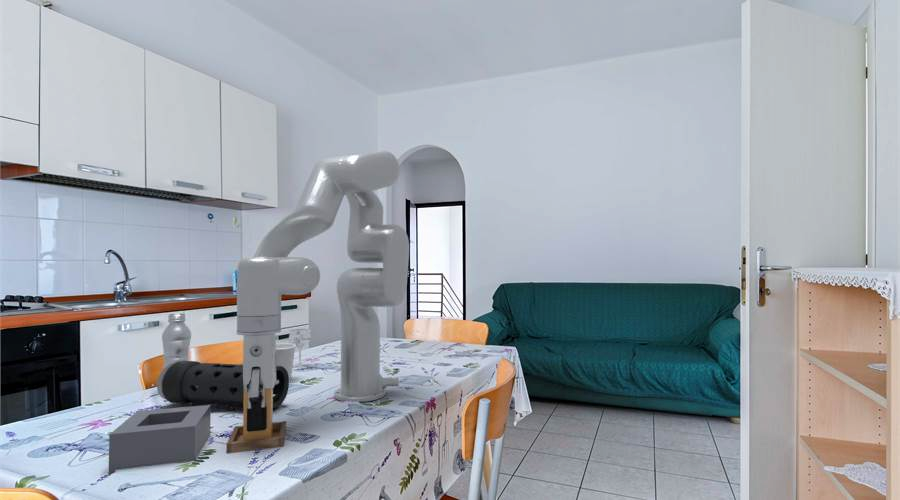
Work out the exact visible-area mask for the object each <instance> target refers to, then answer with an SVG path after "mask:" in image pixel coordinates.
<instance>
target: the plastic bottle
mask: <svg viewBox="0 0 900 500" xmlns="http://www.w3.org/2000/svg"><path fill="white" fill-rule="evenodd" d="M167 318H168V320H167V322H168V325H167V326H166V327H165V329H164V330H163V332H162V334H161V341H162V348H163V366H162V370H163V369H164V368H165V367H166V366H168V365H169V364H172V363H176V362H179V361H189V354H190V352H189V351H190V347H191V339H192V332H191V330H190V328H189V326H188V325H187V324H186V323H185V322H186V320H187V319H186V314H185V313H171V314H168V317H167Z"/></svg>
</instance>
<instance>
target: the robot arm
mask: <svg viewBox="0 0 900 500" xmlns="http://www.w3.org/2000/svg"><path fill="white" fill-rule="evenodd" d="M400 171H401V170H400V163H399V160H398V159H397V157H396V156H395V155H394V154H393V153H392V152H390V151H387V150H384V151H381V150H380V151H373V152H366V153H357V154H355V153H354V154H348V155H341V156H340V155H339V156H330V157H326V158H322V159H320V160H319V161H317V162H316V163H315V164H314V166H313V168H312V170H311V172H310V175H309V177H308V179H307V181H306V183H305V186H304V188H303V190H302V192H301V195H300V197H299V199H298V201H297V204H296V205H295V208H294V209H293V210H292V211H291V212H290V213H288V214H287V215H286V216H285V217H284V218H282V220H280V221H279V222H278V223H277V224H276V225H275V226H273V228H272V229H270V230H269V231H268V232H267V234H266V235H265V236H264V237H263V239H262V240H261V242H260V243H259V245H258V247H257V249H256V251H255V253H254V255H253V257H244V258H242V259H240V260H239V262H238V264H237V273H236V274H237V278H236V279H237V282H236V284H237V285H236V335H238V336H243V339H242V341H243V346H242V349H243V350H242V364H243V387H244V390H245V391H246V392H248V408H247V431H248V432H251V431H261V430H265V429H266V428H267V406H265V394H266V388H269V390H272V389H273V388H274V385H275V382H276V344H277V339H276V334H279V333H281V332H282V295H286V296H301V295H306V294H308V293H311V292H312V291H314V290H315V289H316V288H317V286H318V285H319V283H320V280H321V273H320V272H321V271H320V268H319V267H318V265H317V264H316V263H315V262H314V261H313V260H311V259H310V258H307V257H301V256H291V257H290V256H289V255H290V254H291V252H292V251H294V250H295V248H297V247H298V246H300V245H301V244H303V243H305V242H306V241H309V240H311V239H313V238H315V237H317V236H319V235H321V234H323V233H325V232H327V231H328V230H329V229H331V228H332V226H333V225H334V222H335V219H336V217H337V214H338V212H339V210H340V206H341V203H342V201H343V199H344V197H346V199H347V201H348V205H349V220H348V230H347V240H346V241H347V243H346V246H347V247H346V251H347V255H348V258H349V259H350V260H351V261H353V262H356V263H363V264H365V263H366V264H382V267H354V268H350V269H346V270H345V271H343V272H342V273H341V274H340V275H339V276H338V279H337V281H336V282H337V283H336V293H337V294H336V295H337V297H338V298H337V300H338V303H339V310H340V311H339V313H340V388H337V389H335V391H334V393H333V394H334V395H333V396H334V398H335V399H336V400H338V401H341V402H358V403H363V402H371V401H372V402H373V401H377V400H379V399H382V398H384V397H385V396H386V394H387V387H399V385H400V381H399V380H400V379H399V378H398V377H394V378H393V377H392V376H391V377H383V376H382V375H381V368H380V367H381V365H380V364H381V359H380V358H381V353H380V352H381V349H380V347H381V346H380V345H381V338H380V337H381V334H380V333H381V327H380V326H381V325H380V320H379V317H378V315H377V313H376V310H375V309H374V308H373V307H375V308H377V307H378V308H380V307H381V308H395V307H398V306H400V305H401V304H402V303H403V302H404V300H405V297H406V293H407V286H408V276H409V275H408V274H409V273H408V272H409V258H410V242H409V237H408V234H407V232H406V230H405V229H404V228H403V227H401V226H400V225H397V224H384V206H383V203H382V201H381V200H380V198H379V196H378V195H377V193H376V192H375V191H377V190H381V189H384V188H388V187H391V186H393V185H394V184H395V183H396V182H397V180H398V178H399V176H400ZM288 256H289V257H288ZM260 373H261V376H260ZM259 386H263V389H260V390H259ZM247 389H248V390H247ZM259 393H262V397H261V395H259Z"/></svg>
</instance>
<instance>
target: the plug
mask: <svg viewBox="0 0 900 500" xmlns="http://www.w3.org/2000/svg"><path fill="white" fill-rule="evenodd" d="M260 376H261V373H260ZM260 389H263V386H259V390H260ZM247 390H248V389H247ZM259 395H261V397H262V393H259ZM273 396H274V394H273V389H272V390H269V388H266V394H265V406H267V428H266V429H265V430H261V431H251V432H248V431H247V408H248V392H246V391H245V390H244V408H243V409H242V411H243V414H242V415H243V416H242V417H243V418H242V419H243V421H242V422H243V423H242V424H243V441H245V440H254V439H263V438H272V434H273V422H274V421H273V420H274V419H273V417H274V416H273V415H274V410H273Z"/></svg>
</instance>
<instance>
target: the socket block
mask: <svg viewBox="0 0 900 500" xmlns="http://www.w3.org/2000/svg"><path fill="white" fill-rule="evenodd" d="M211 408H212V405H203V406H183V407H182V406H181V407H180V406H179V407H170V408H160V409H148V410H138V411H136V412H134V413H133V414H132V415H131V416H130V417H129V418H127V419H126V420H125V421H124V422H123V423H121V424H120V425H119V426H118V427H116V428H115V429H114V430H113V431H111V432H110V433H109V435H108V440H109V441H108V474H114V473H115V472H116V470H124V469H132V468H134V469H135V468H141V467H142V468H143V467H150V466H159V465H166V464H175V463H184V462H192V461H193V462H194V461H196V459H197V457H198V456H199V455H200V453H201V451H202V449H203V447H204V446H205V444H206V443H207V441H208V439H209V437H210V436H211V413H212V412H211Z"/></svg>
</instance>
